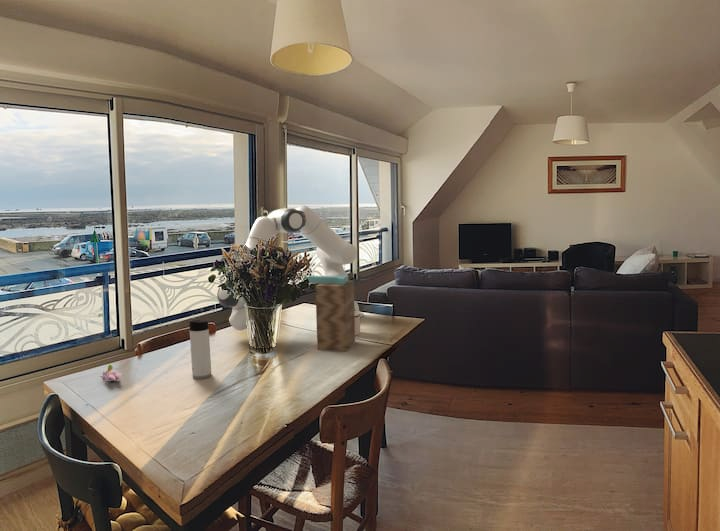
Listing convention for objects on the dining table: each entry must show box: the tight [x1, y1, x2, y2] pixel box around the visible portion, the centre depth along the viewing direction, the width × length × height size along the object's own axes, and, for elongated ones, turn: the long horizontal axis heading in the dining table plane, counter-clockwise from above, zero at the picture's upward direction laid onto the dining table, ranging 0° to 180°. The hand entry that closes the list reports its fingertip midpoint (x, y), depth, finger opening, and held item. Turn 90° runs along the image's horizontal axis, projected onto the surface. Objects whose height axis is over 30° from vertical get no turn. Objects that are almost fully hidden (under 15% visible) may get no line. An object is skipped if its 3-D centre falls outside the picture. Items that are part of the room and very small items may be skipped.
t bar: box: [303, 275, 349, 285], centre depth 208 cm, size 18×8×2 cm, turn 77°
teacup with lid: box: [354, 310, 361, 336], centre depth 228 cm, size 12×9×12 cm
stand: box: [315, 279, 356, 352], centre depth 209 cm, size 12×14×26 cm
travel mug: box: [188, 319, 212, 380], centre depth 176 cm, size 6×7×20 cm
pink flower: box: [99, 363, 123, 382], centre depth 174 cm, size 6×6×15 cm
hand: (289, 291), depth 212 cm, fingers open, 8 cm apart
